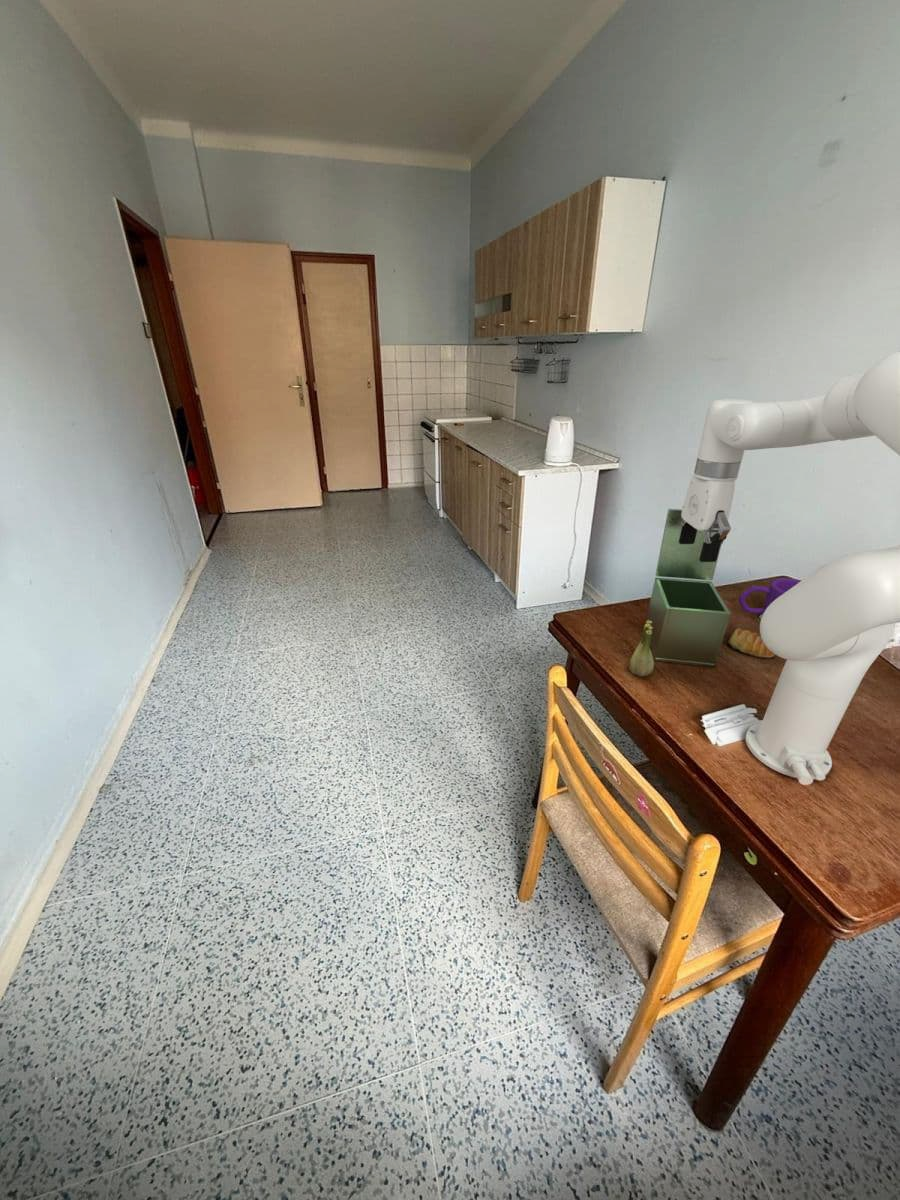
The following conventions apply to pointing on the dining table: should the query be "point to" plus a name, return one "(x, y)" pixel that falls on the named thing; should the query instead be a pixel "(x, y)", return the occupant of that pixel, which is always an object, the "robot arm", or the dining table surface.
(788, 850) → the dining table surface
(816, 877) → the dining table surface
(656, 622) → the trash bin
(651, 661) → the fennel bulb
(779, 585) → the mug
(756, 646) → the pastry
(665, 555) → the bin lid
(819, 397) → the robot arm
